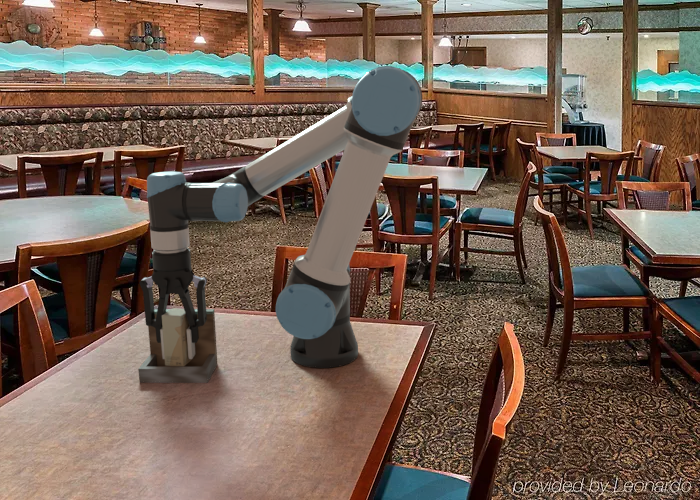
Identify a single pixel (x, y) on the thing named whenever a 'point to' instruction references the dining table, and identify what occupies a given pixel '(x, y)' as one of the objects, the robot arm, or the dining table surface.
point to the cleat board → (193, 370)
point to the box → (175, 337)
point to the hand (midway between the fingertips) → (179, 356)
